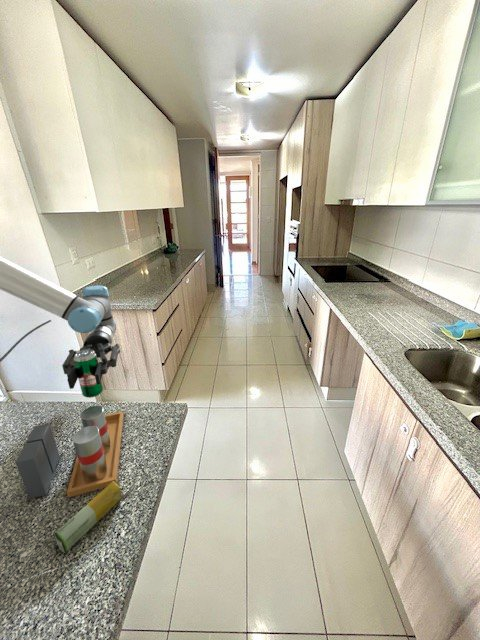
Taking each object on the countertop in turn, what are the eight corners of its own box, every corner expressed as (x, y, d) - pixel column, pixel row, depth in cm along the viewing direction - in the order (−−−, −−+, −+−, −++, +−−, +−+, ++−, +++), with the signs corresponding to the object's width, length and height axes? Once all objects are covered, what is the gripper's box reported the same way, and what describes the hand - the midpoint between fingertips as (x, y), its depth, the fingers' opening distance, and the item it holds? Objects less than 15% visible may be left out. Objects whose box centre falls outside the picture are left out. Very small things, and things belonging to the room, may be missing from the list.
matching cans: (91, 444, 69) (82, 407, 65) (112, 439, 71) (104, 403, 67) (81, 486, 58) (69, 446, 54) (106, 480, 60) (97, 440, 55)
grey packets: (46, 460, 65) (34, 425, 61) (60, 457, 66) (49, 423, 62) (30, 500, 56) (15, 462, 52) (46, 495, 57) (33, 458, 53)
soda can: (79, 399, 67) (69, 359, 62) (86, 388, 71) (77, 349, 67) (100, 397, 68) (92, 357, 63) (106, 386, 72) (98, 347, 68)
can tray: (89, 423, 77) (87, 418, 76) (123, 416, 80) (123, 411, 79) (68, 499, 56) (66, 492, 55) (116, 485, 59) (115, 479, 58)
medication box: (64, 556, 47) (60, 544, 45) (56, 546, 48) (51, 534, 46) (123, 498, 56) (121, 486, 55) (115, 490, 57) (112, 479, 56)
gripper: (130, 348, 87) (126, 387, 67) (69, 356, 81) (43, 402, 61) (127, 327, 84) (122, 362, 64) (63, 334, 79) (35, 374, 58)
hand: (84, 381), depth 62 cm, fingers closed on soda can, 5 cm apart
